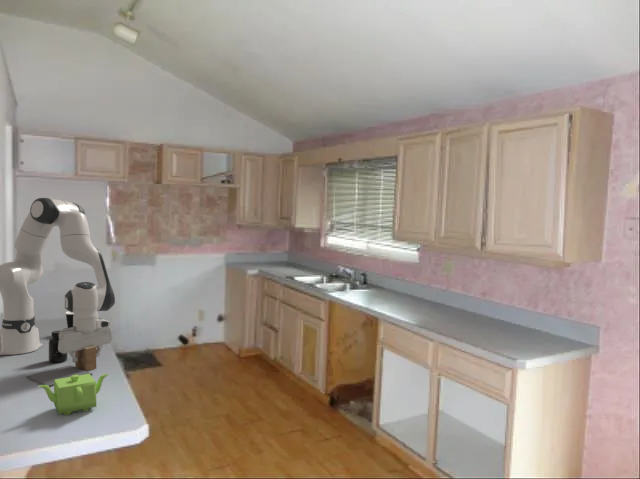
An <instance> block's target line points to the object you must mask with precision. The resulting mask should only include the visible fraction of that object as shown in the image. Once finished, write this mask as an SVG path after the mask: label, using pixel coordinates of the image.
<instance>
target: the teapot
mask: <svg viewBox="0 0 640 479" xmlns="http://www.w3.org/2000/svg"><path fill="white" fill-rule="evenodd" d="M109 374H110V373H104V374H102V375H100V376H99V378H98V380H95V379H94V378H93V375H90V374H85V375H72V376H70V377H67V378H61V379H55V380H54V386H53V391H52V389H51V387H49V386H48V385H42V384H39V385H38V386H37V387H38V388H42V389H44V390H45V393H46V395H47V397H48V399H49V401H50V402H51V403H53V405H54V407H55V410H56V411H57V414H58V415H62V414H63V416H70V415H71V414H72V412H77V411H82V412H88V411H90V409H91V408H96V407H97V394H98V393H99V392H100V390H101V388H102V383H103V381H104V379H105V378H106V377H107V376H108V375H109Z"/></svg>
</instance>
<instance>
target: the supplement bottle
mask: <svg viewBox="0 0 640 479" xmlns="http://www.w3.org/2000/svg"><path fill="white" fill-rule="evenodd" d="M61 330H62V329H61ZM61 330H54V331H51V334H50V335H51V338H49V339H48V362H49V363H52V364H59V363H63V362H64V363H65V362H66V361H67V360H68V354H69V353H65V354H63V353H60V352H59V351H58V343H59V332H60V331H61ZM62 332H63V331H62Z"/></svg>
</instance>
